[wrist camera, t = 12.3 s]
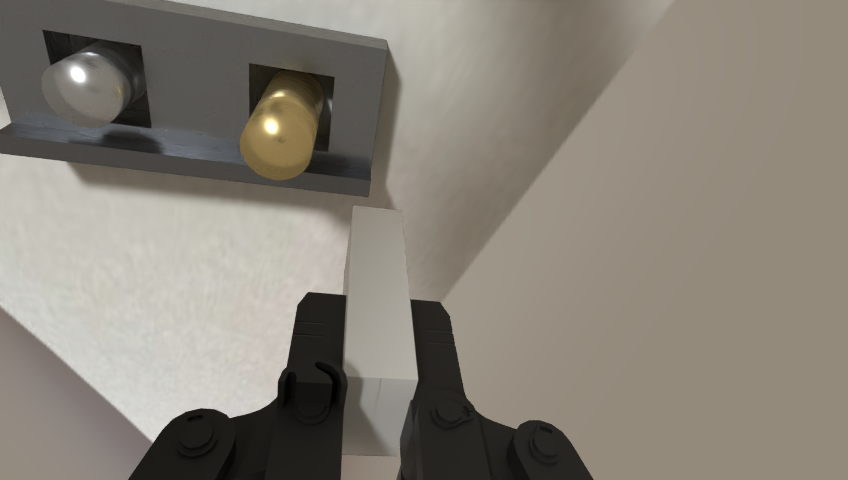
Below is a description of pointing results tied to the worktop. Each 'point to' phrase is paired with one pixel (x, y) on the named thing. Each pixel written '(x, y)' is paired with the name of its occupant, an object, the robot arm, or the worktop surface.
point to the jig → (189, 89)
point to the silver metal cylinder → (95, 83)
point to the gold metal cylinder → (283, 126)
